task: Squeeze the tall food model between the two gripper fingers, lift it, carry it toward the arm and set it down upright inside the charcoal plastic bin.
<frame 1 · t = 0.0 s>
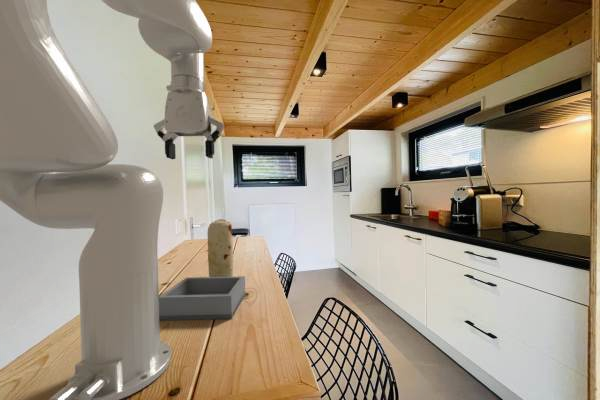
hand: (190, 157, 60), 37 cm above the table, tool pointing down, fingers open, 9 cm apart
bin: (206, 306, 58), on the table
food model: (221, 285, 72), on the table
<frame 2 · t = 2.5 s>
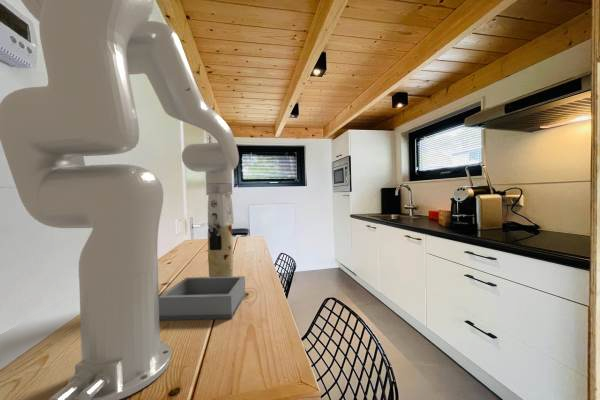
hand: (221, 246, 73), 12 cm above the table, tool pointing down, fingers open, 9 cm apart
food model: (221, 286, 72), on the table, touching gripper
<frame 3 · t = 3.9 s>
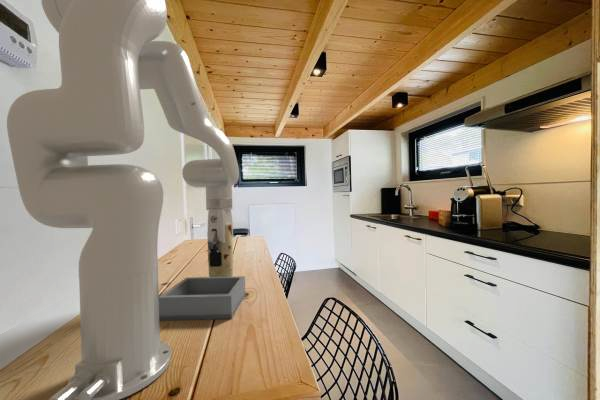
hand: (220, 261, 72), 7 cm above the table, tool pointing down, fingers closed on food model, 8 cm apart
food model: (221, 285, 72), on the table, touching gripper
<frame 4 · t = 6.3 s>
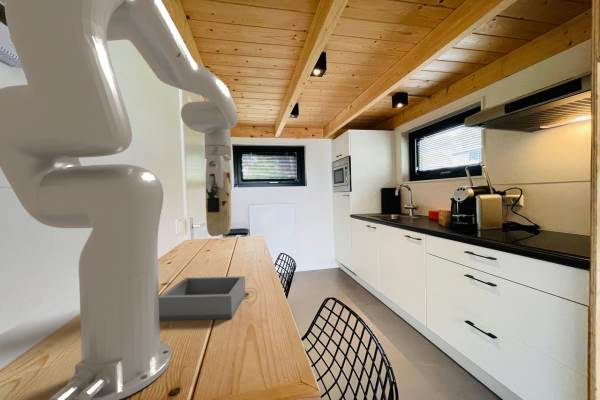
hand: (218, 211, 72), 23 cm above the table, tool pointing down, fingers closed on food model, 8 cm apart
food model: (219, 235, 71), point 15 cm above the table, touching gripper
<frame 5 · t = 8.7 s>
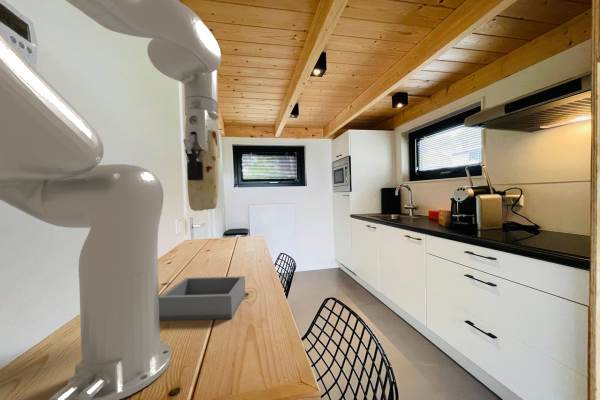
hand: (203, 181, 58), 31 cm above the table, tool pointing down, fingers closed on food model, 8 cm apart
food model: (204, 211, 58), point 23 cm above the table, touching gripper
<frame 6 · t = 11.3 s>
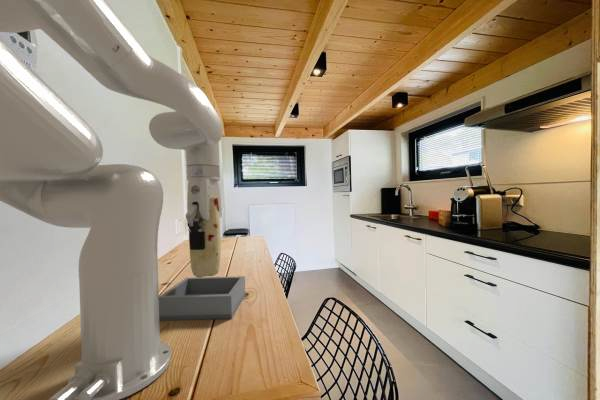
hand: (205, 245, 58), 15 cm above the table, tool pointing down, fingers closed on food model, 8 cm apart
food model: (206, 274, 58), point 8 cm above the table, touching gripper
when the fingers open (9 cm above the table, at t = 13.6 s): food model drops 1 cm, resting on bin.
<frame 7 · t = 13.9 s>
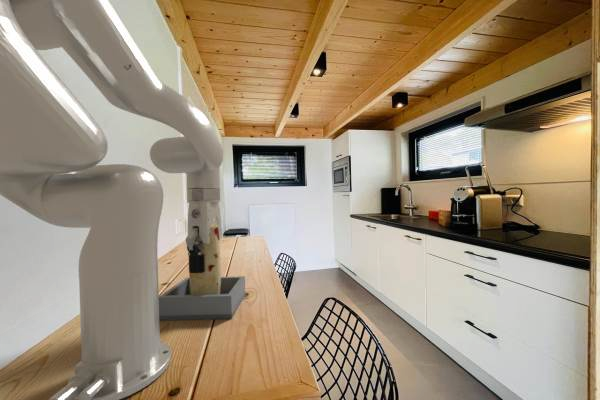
hand: (205, 266, 58), 10 cm above the table, tool pointing down, fingers open, 9 cm apart
food model: (206, 303, 58), point 1 cm above the table, touching bin
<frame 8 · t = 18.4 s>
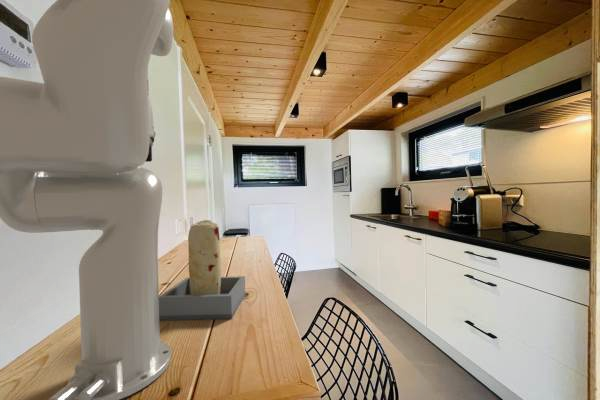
hand: (131, 158, 56), 36 cm above the table, tool pointing down, fingers open, 9 cm apart
nothing on the table moved.
at the end: food model inside the target area on the bin (0.4 cm from its centre), point 0.8 cm above the bin's base; food model tilted 0°; the gripper is holding nothing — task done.
